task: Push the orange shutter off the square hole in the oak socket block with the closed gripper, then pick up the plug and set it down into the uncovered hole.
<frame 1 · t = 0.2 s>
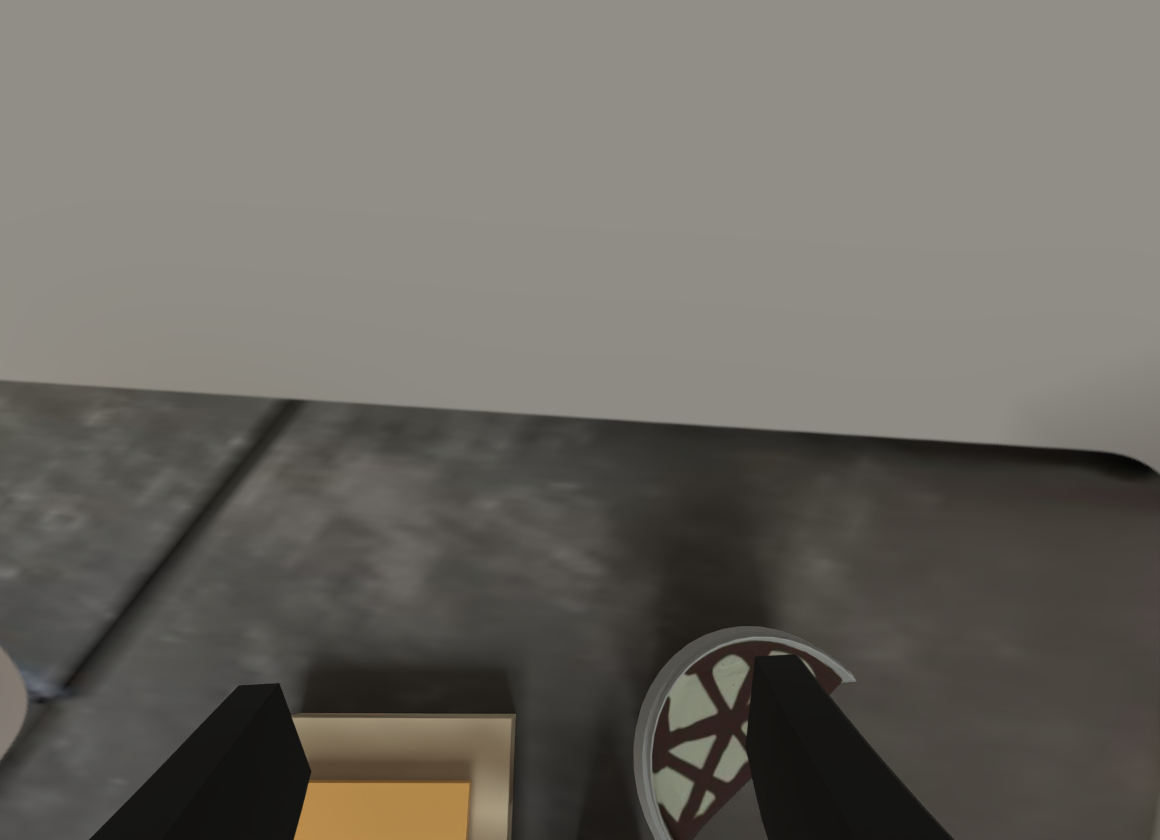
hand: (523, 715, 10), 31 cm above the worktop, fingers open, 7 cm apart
food container: (687, 696, 38), on the worktop
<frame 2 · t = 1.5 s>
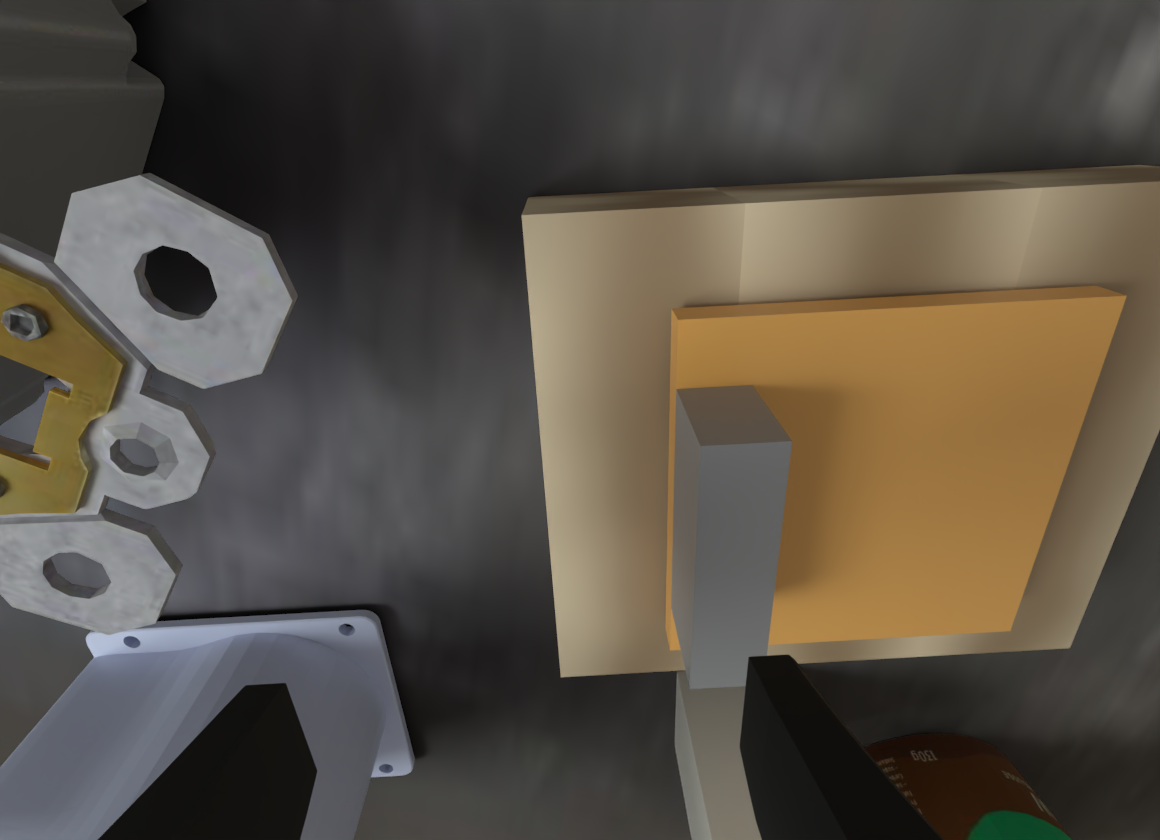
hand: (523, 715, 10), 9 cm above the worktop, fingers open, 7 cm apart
socket block: (804, 419, 18), on the worktop
food container: (960, 772, 26), on the worktop
shutter: (884, 518, 14), point 5 cm above the worktop, slide at 0.0 cm
plug: (728, 706, 23), on the worktop
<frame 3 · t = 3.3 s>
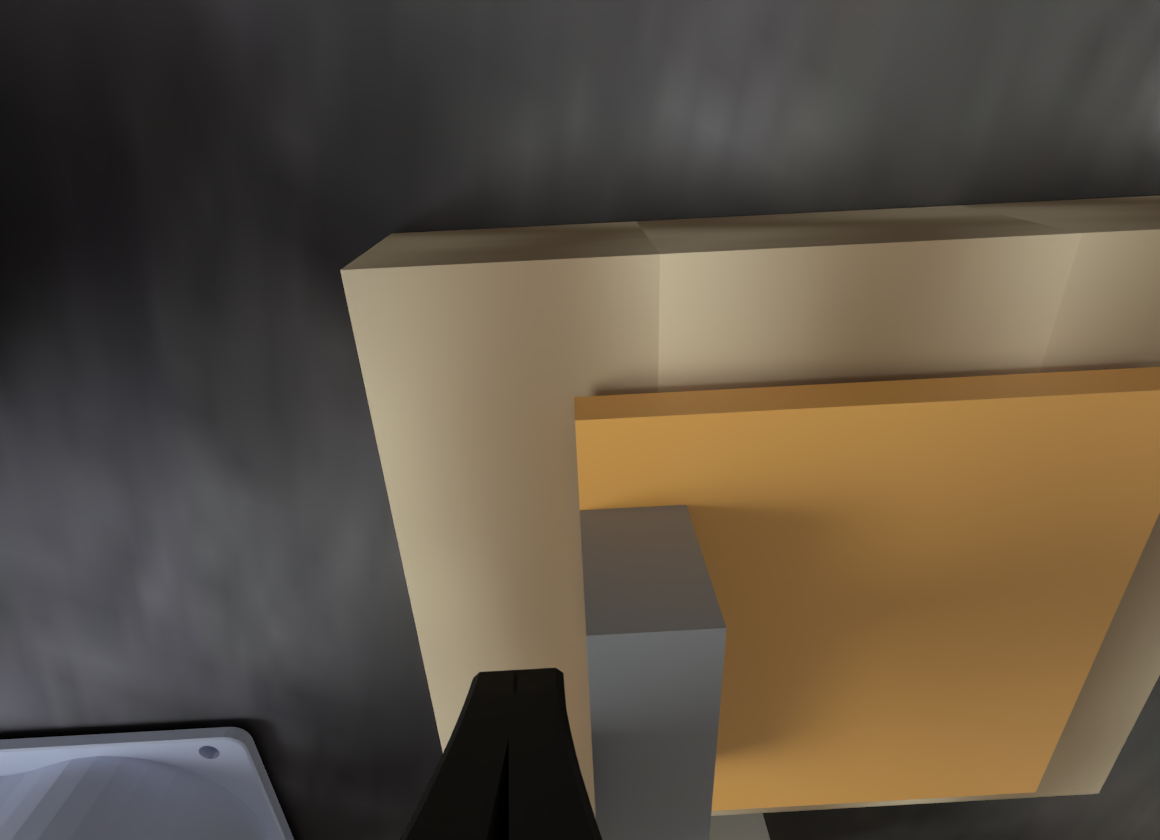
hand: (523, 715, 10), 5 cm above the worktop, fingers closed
socket block: (766, 507, 14), on the worktop
shutter: (871, 682, 10), point 5 cm above the worktop, slide at 0.2 cm, touching gripper
plug: (685, 825, 20), on the worktop
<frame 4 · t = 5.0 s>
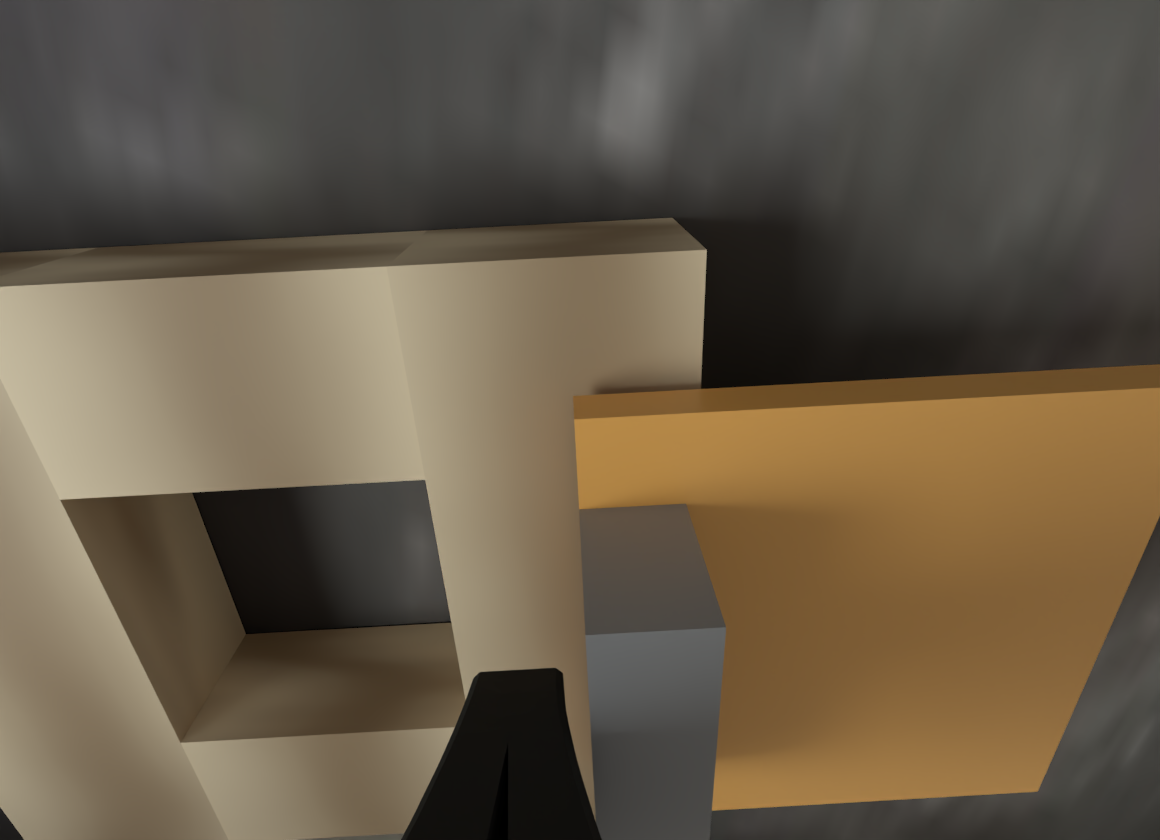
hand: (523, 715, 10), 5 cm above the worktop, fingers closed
socket block: (340, 529, 14), on the worktop
shutter: (872, 681, 10), point 5 cm above the worktop, slide at 10.0 cm, touching gripper
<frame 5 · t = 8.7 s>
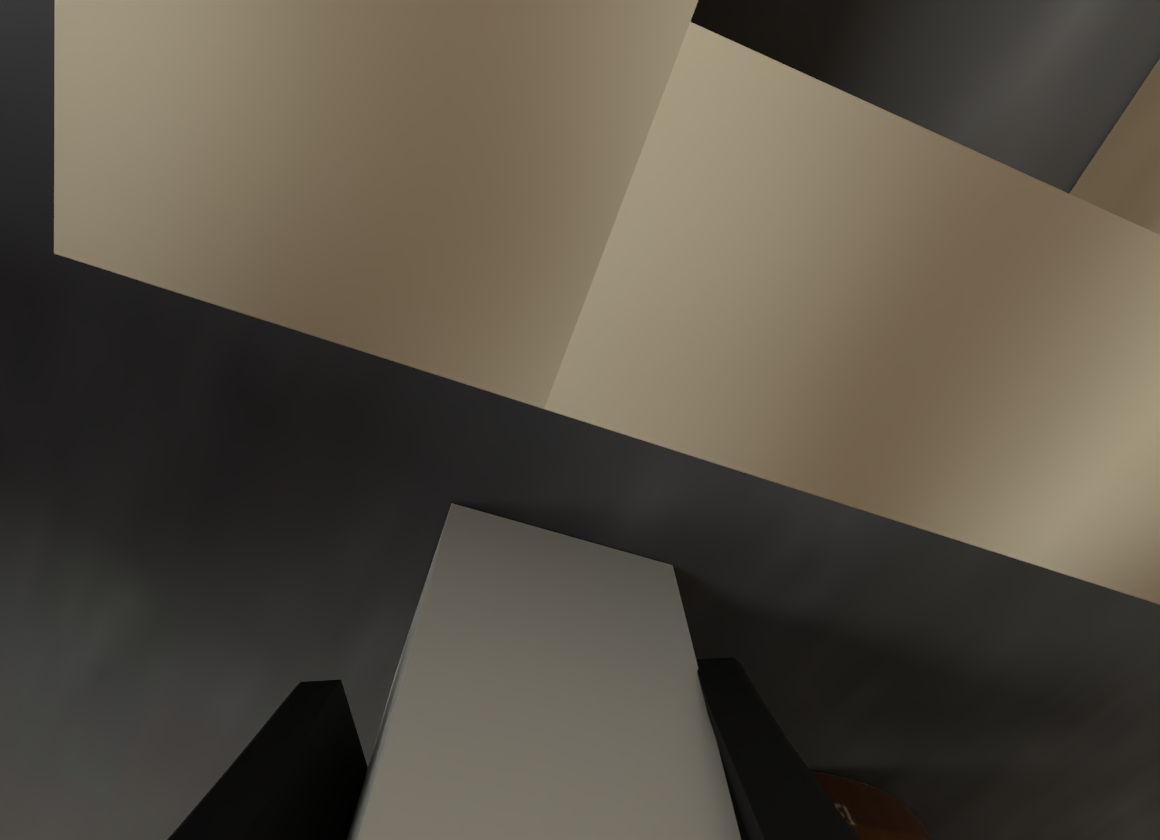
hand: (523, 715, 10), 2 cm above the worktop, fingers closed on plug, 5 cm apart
plug: (529, 619, 11), on the worktop, touching gripper
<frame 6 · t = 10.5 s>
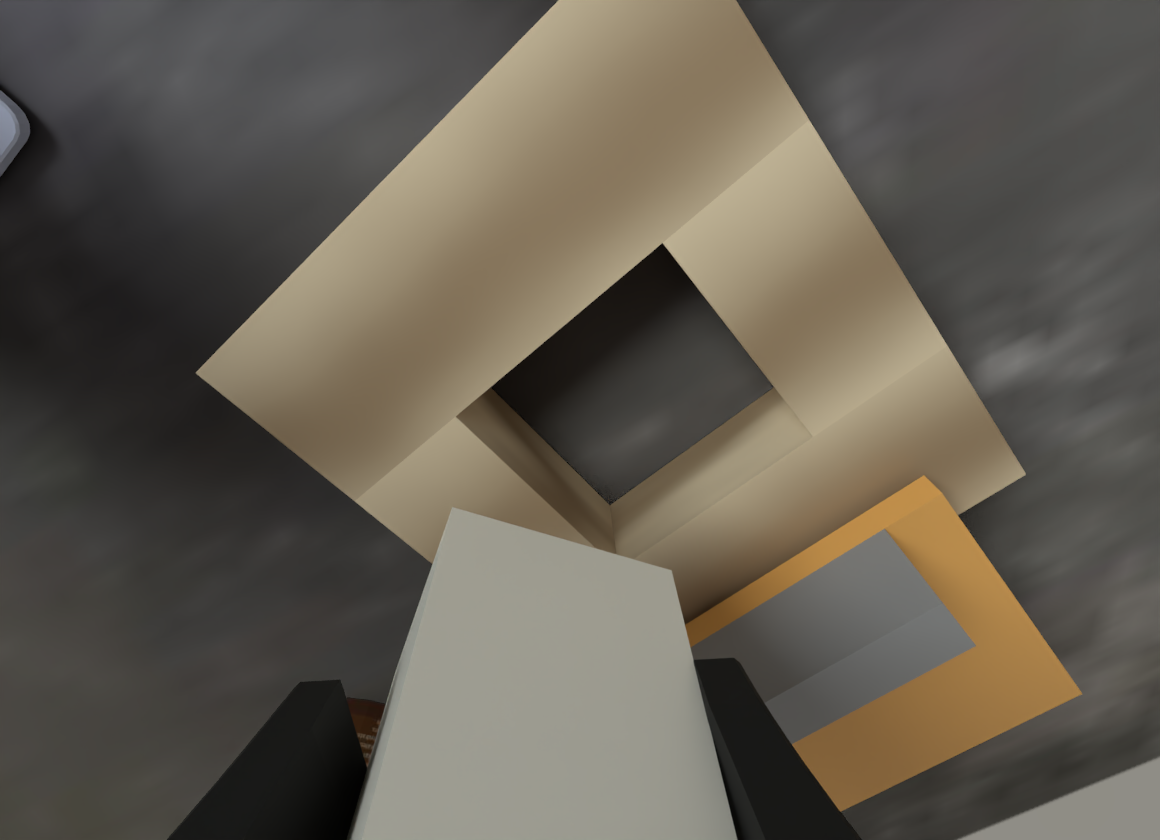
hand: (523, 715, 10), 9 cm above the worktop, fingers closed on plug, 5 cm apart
socket block: (625, 378, 17), on the worktop
food container: (426, 780, 25), on the worktop
shutter: (879, 713, 16), point 5 cm above the worktop, slide at 10.0 cm
plug: (528, 622, 11), point 7 cm above the worktop, touching gripper
when the fingers open (4 cm above the worktop, at t = 12.3 s): plug drops 2 cm, resting in socket block.
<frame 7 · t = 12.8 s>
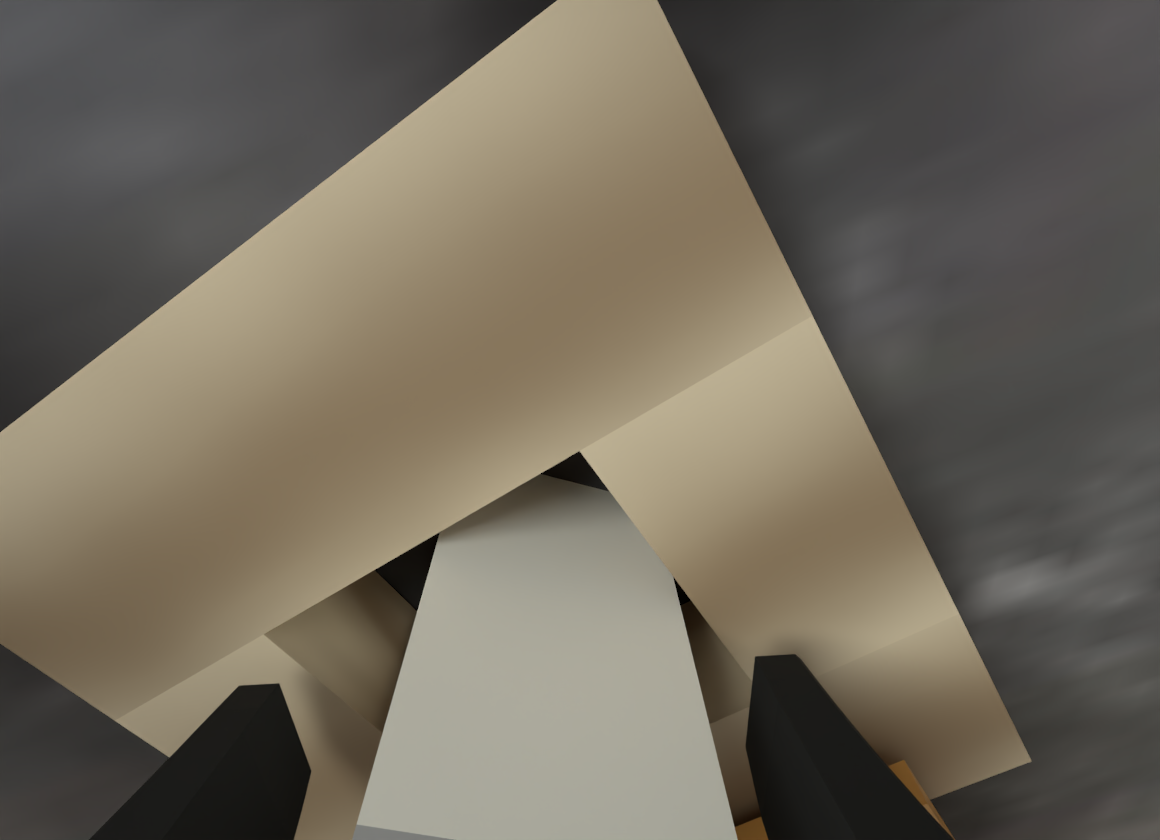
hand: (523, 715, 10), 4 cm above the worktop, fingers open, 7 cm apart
socket block: (533, 554, 13), on the worktop
plug: (533, 556, 13), resting in socket block
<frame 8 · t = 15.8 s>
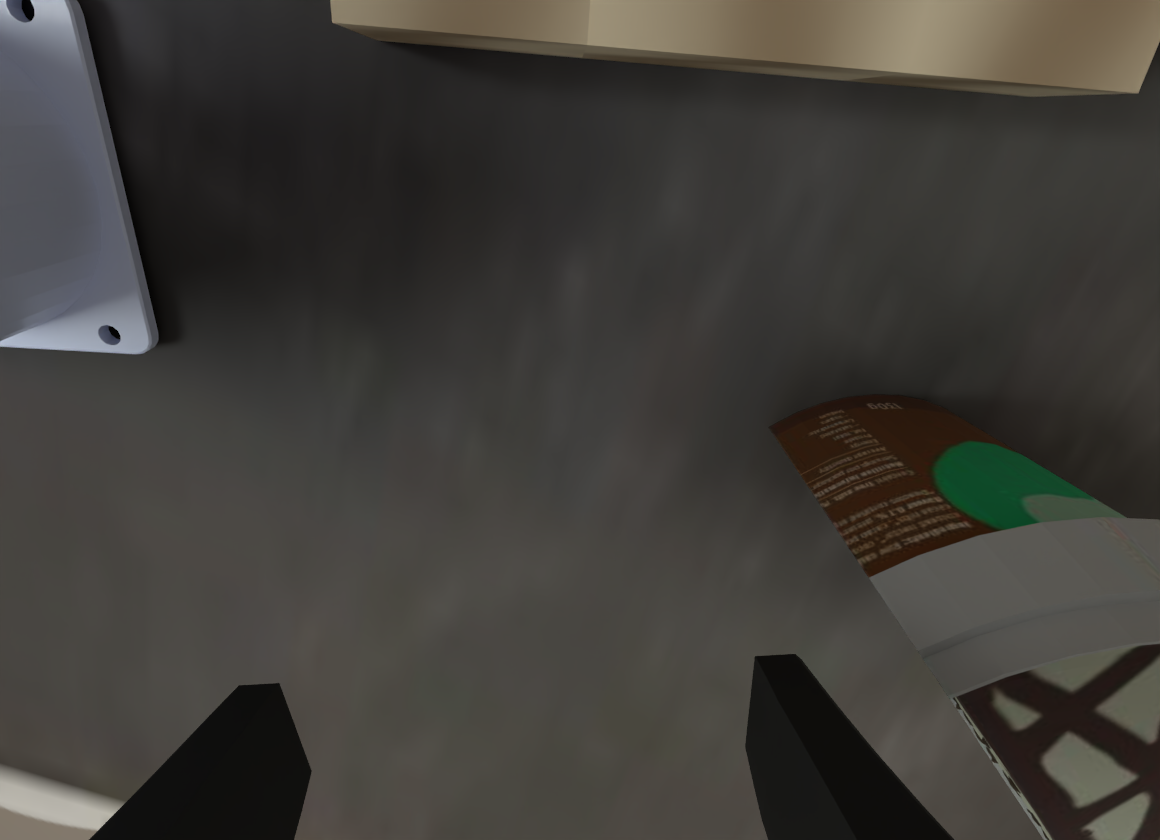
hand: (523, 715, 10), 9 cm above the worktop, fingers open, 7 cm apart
food container: (924, 478, 19), on the worktop
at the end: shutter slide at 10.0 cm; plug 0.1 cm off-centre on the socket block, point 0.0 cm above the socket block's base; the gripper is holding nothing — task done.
